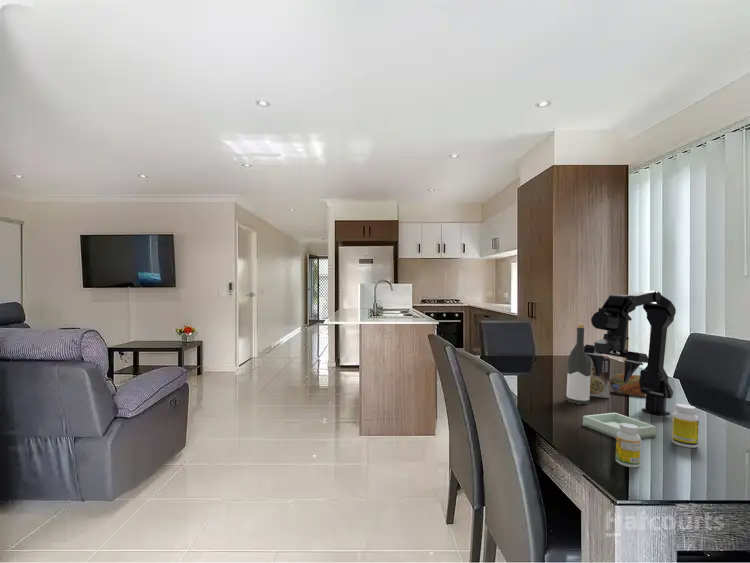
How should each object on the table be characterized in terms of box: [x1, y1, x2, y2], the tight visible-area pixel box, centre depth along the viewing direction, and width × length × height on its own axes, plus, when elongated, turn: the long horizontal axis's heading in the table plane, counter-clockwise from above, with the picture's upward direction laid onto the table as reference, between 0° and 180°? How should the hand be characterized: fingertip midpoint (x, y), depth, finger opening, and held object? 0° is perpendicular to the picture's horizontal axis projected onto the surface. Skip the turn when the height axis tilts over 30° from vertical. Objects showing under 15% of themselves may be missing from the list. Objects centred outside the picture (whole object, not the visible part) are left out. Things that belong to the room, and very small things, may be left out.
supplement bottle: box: [615, 423, 642, 468], centre depth 108 cm, size 5×5×10 cm
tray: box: [582, 412, 657, 439], centre depth 133 cm, size 14×14×3 cm
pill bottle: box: [670, 403, 699, 449], centre depth 124 cm, size 6×6×11 cm
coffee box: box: [589, 355, 611, 399], centre depth 177 cm, size 9×6×16 cm
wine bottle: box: [566, 323, 591, 405], centre depth 165 cm, size 8×8×30 cm
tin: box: [610, 373, 646, 397], centre depth 181 cm, size 15×3×8 cm, turn 68°
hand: (611, 379), depth 141 cm, fingers open, 9 cm apart
